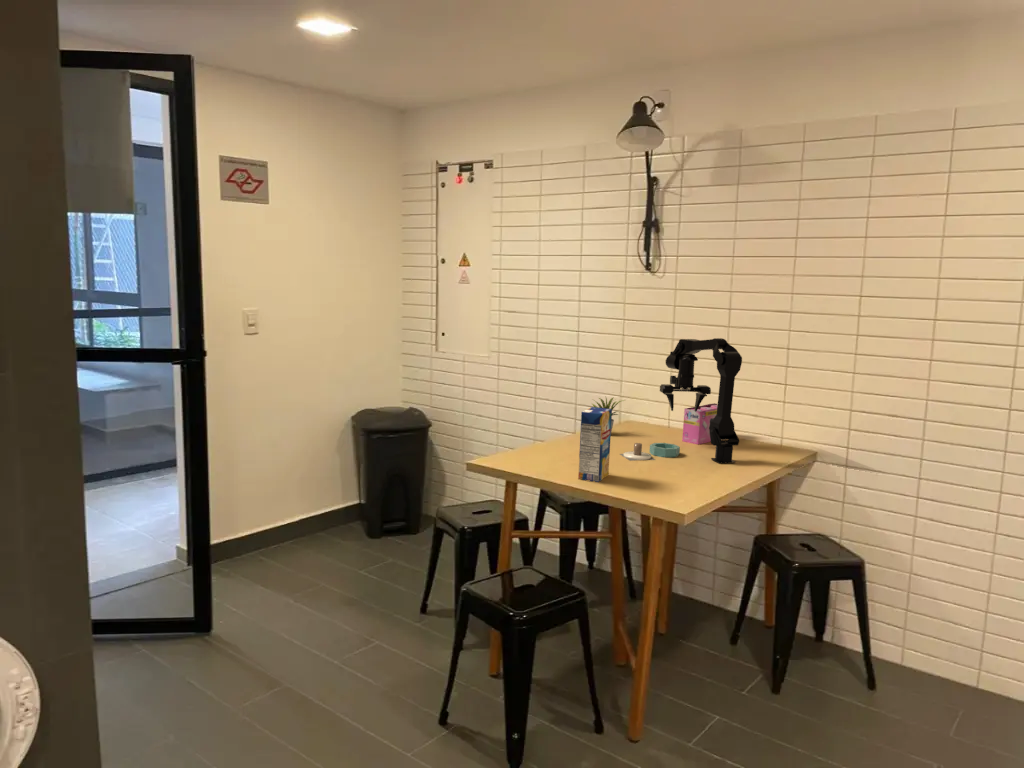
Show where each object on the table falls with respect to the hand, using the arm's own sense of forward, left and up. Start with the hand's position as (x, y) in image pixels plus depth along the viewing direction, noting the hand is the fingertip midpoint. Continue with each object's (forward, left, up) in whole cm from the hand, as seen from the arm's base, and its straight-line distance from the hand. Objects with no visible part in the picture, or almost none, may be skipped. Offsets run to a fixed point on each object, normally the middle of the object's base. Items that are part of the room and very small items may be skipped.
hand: (683, 411), depth 297 cm
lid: (-17, +26, -13) cm, 34 cm away
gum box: (+11, -16, -14) cm, 24 cm away
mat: (-17, +26, -14) cm, 34 cm away
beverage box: (-40, +51, -14) cm, 67 cm away
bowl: (-14, +14, -14) cm, 24 cm away
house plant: (+24, +22, -14) cm, 35 cm away
